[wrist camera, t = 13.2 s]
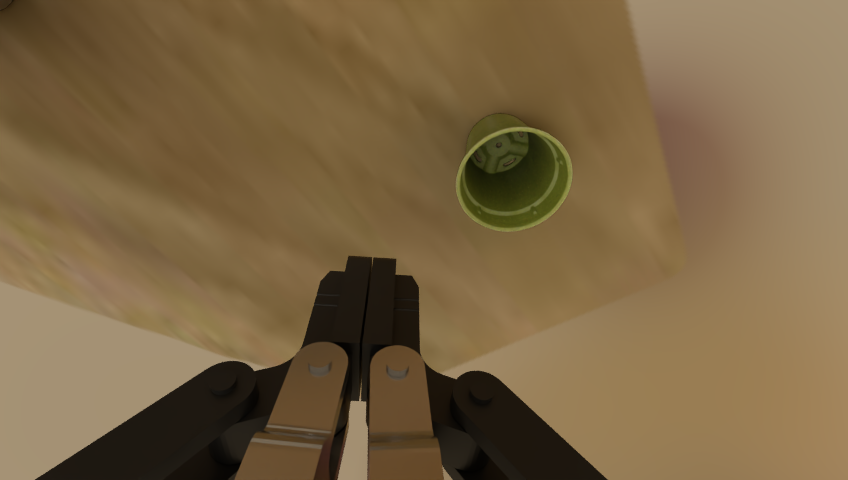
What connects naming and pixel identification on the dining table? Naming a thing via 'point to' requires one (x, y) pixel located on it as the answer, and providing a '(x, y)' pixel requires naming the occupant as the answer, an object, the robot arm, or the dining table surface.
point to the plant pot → (512, 174)
